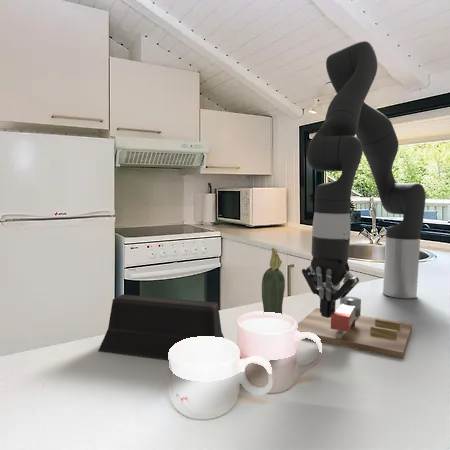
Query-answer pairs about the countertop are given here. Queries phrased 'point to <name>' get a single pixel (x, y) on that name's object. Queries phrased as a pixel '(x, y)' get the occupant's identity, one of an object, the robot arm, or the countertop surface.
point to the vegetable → (273, 285)
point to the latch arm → (346, 313)
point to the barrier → (157, 325)
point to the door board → (361, 333)
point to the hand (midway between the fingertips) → (327, 316)
